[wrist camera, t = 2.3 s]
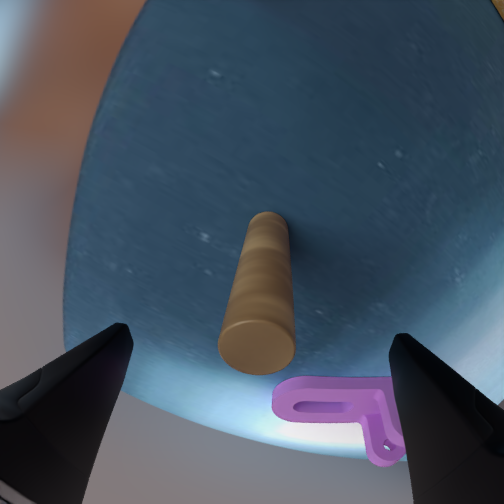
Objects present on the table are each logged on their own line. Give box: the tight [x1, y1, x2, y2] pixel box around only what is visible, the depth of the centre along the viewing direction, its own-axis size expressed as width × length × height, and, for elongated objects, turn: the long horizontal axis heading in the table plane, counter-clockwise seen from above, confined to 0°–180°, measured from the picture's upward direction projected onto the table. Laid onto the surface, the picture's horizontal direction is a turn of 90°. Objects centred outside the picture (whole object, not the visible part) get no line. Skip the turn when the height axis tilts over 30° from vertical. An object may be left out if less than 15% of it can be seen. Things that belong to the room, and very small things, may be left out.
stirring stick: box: [218, 212, 296, 375], centre depth 13 cm, size 2×2×10 cm
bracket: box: [272, 376, 406, 467], centre depth 21 cm, size 13×6×7 cm, turn 85°
